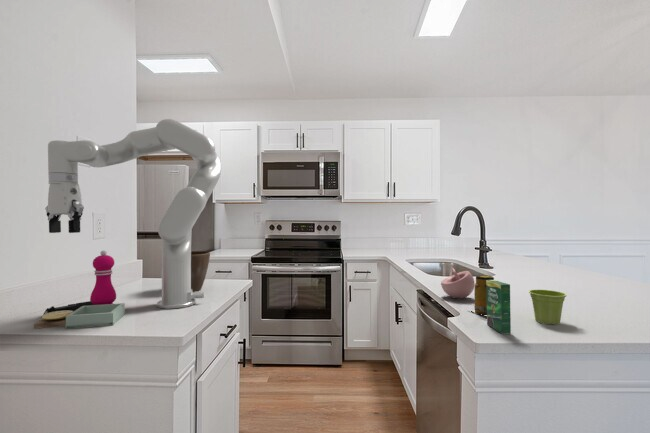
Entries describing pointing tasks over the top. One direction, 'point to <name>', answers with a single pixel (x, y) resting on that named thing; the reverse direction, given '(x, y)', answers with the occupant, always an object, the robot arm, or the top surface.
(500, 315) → the coffee box
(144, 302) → the top surface
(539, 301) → the plant pot
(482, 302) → the condiment
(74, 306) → the electric trimmer
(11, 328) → the top surface
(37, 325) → the checker plinth
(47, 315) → the gold disc
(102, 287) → the pepper mill
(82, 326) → the trough tray
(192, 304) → the robot arm
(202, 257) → the plant pot
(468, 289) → the mortar and pestle
